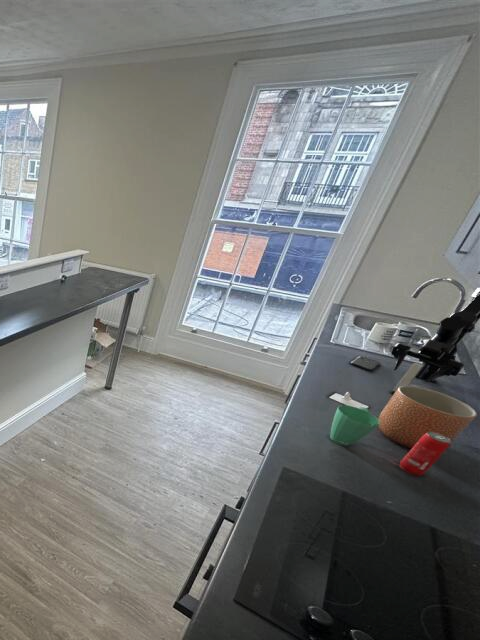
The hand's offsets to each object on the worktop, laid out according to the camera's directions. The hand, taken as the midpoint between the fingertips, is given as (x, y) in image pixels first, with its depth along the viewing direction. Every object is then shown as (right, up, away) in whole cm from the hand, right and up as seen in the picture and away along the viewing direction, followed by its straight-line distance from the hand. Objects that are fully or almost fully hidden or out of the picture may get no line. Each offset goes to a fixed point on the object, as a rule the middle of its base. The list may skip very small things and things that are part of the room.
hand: (410, 375), depth 150 cm
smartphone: (+9, +6, +26) cm, 29 cm away
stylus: (-1, -7, +4) cm, 8 cm away
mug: (-49, -20, -25) cm, 58 cm away
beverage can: (-40, -28, -36) cm, 60 cm away
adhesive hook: (-27, -10, -4) cm, 29 cm away
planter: (-28, -21, -23) cm, 42 cm away
